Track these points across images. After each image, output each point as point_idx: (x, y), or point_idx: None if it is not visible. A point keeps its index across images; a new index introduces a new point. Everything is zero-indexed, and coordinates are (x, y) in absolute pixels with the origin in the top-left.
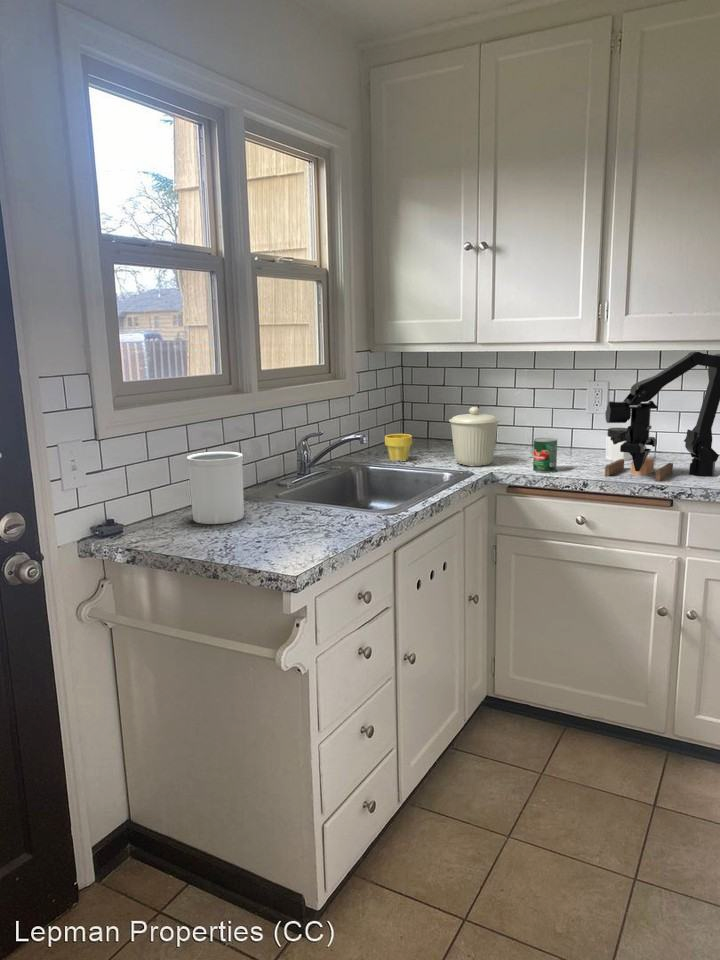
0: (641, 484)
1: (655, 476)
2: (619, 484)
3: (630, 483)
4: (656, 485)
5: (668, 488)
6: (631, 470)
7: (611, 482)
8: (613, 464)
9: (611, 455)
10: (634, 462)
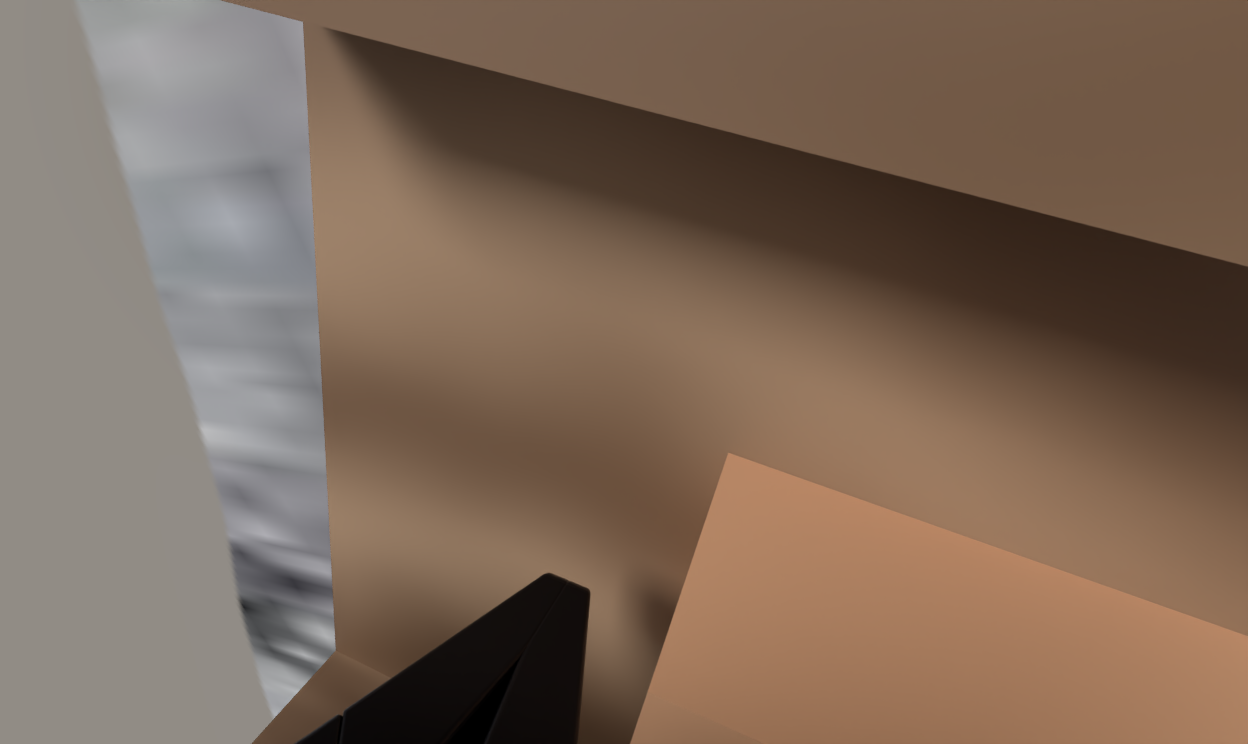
0: (326, 499)
1: (283, 709)
2: (180, 231)
3: (312, 380)
4: None
5: (291, 681)
6: (709, 512)
7: (228, 89)
8: (404, 47)
9: None
10: (366, 710)
